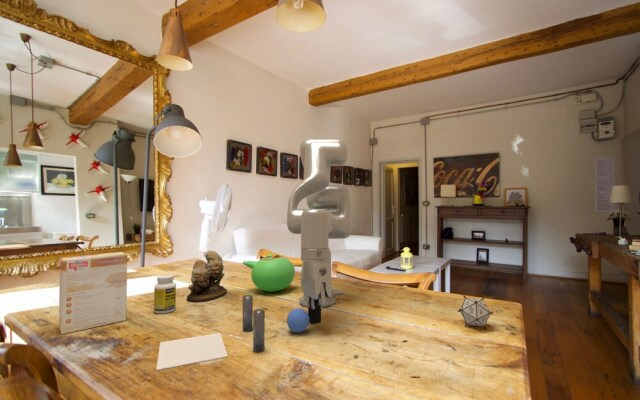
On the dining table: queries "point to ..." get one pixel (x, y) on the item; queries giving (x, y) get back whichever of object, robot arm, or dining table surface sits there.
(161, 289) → the pill bottle
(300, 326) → the ball
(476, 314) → the game die
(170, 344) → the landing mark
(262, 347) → the post
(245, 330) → the post
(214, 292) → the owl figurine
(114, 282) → the coffeecake box
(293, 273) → the green teapot
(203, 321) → the dining table surface
